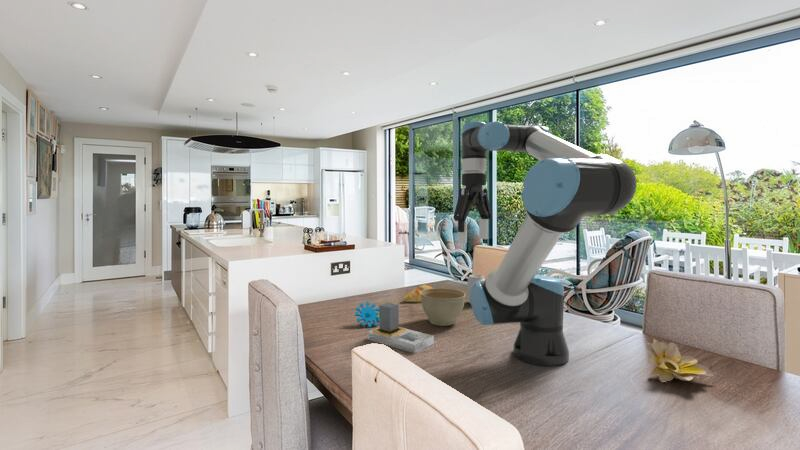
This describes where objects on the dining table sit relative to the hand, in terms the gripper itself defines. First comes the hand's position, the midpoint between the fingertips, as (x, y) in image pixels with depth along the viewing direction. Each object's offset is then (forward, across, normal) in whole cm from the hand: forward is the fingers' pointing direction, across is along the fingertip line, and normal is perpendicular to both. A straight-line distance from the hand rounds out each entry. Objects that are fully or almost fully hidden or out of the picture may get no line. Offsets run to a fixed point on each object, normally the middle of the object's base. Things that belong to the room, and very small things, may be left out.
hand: (473, 240), depth 130 cm
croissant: (+32, -31, -42) cm, 62 cm away
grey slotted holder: (+32, +16, -17) cm, 39 cm away
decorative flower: (+32, -5, +54) cm, 63 cm away
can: (+32, -40, -20) cm, 55 cm away
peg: (+32, +16, -22) cm, 42 cm away
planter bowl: (+32, -9, -17) cm, 37 cm away
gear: (+32, +9, -36) cm, 49 cm away
